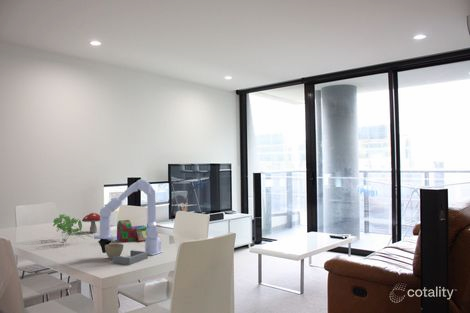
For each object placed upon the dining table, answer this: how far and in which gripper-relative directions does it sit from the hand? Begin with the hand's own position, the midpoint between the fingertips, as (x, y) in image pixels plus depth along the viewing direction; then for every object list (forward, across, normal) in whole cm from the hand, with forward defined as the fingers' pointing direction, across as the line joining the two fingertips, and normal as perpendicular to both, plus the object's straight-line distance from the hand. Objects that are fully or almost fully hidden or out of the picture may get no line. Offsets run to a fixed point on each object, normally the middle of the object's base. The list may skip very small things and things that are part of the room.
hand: (104, 252), depth 209 cm
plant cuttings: (+3, -52, +24) cm, 57 cm away
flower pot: (+3, +7, 0) cm, 7 cm away
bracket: (+2, +18, 0) cm, 19 cm away
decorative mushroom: (+3, -64, +56) cm, 85 cm away
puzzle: (+3, -14, +48) cm, 50 cm away
